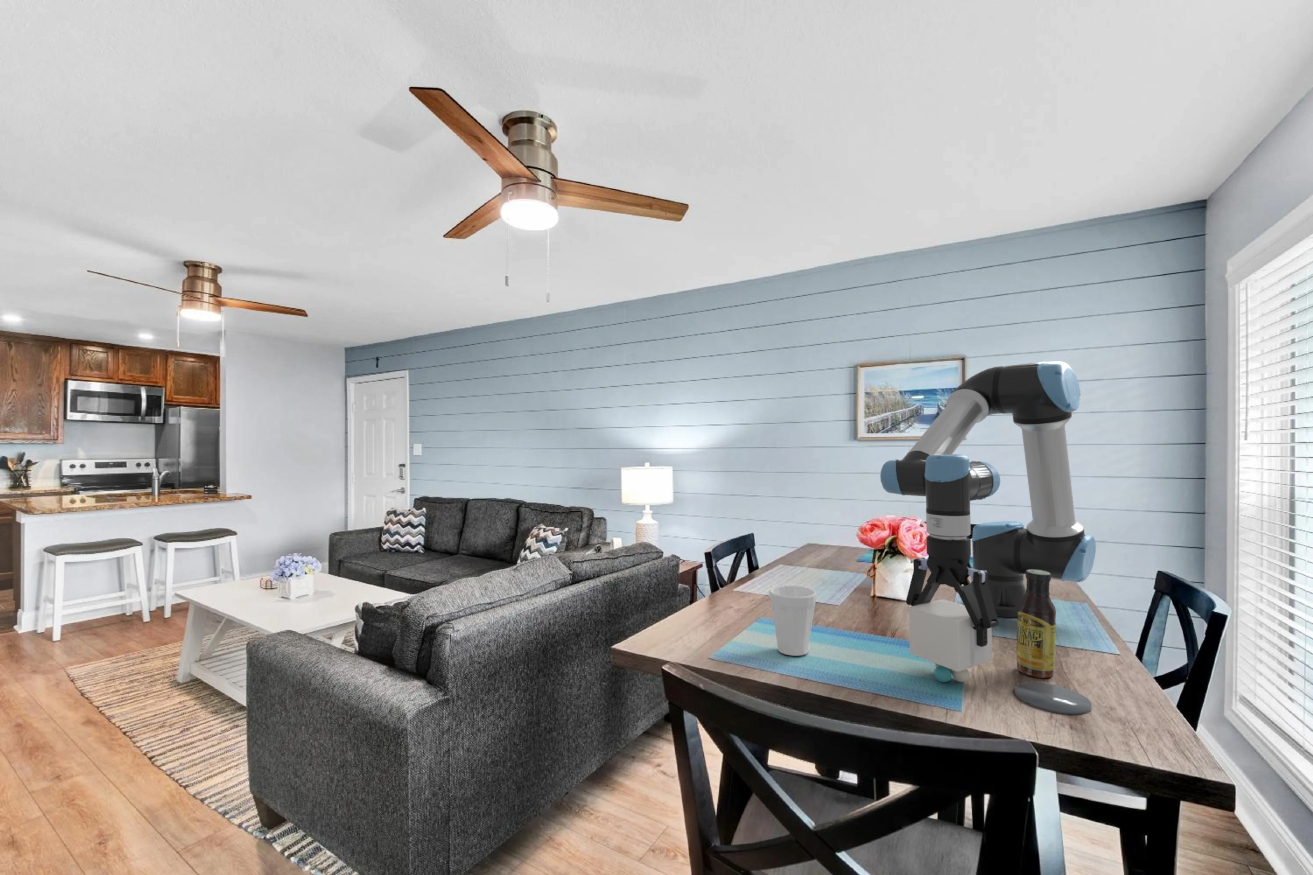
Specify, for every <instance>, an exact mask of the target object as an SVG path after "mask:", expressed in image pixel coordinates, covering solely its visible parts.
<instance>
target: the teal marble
mask: <svg viewBox="0 0 1313 875" xmlns="http://www.w3.org/2000/svg"><path fill="white" fill-rule="evenodd" d="M933 675H934V677H935V679H936V680H937V681H939V682H941V683H947V682H950V680H951V679H952V677H953V676H952V674H951V671H950V669H949V668H947V667H944V666H941V665H938V666H937V667H936V666H935V668H934V671H933Z"/></svg>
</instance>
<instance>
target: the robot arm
mask: <svg viewBox="0 0 1313 875" xmlns="http://www.w3.org/2000/svg"><path fill="white" fill-rule="evenodd" d="M1080 397H1081V389H1080V384H1079V380H1078V377H1077V375H1076V373H1075V371H1074V370H1073V368H1071V366H1070V365H1069V364H1068V363H1066V362H1064V361H1038V362H1030V363H1021V364H1014V365H1013V364H1012V365H1006V366H1005V365H1004V366H1003V365H1000V366H994V367H990V368H986V369H984V370H982V371H978V373H975V374H974V375H972V376H970V377H968V378H967V379H966V380H965V381H963V382H962V383H960V385H958V386H957V387H956V388H955V389H954V390H953V391H952V392H951V394H950V395H949V396H948V398H947V400H946V406H945V408H944V409H943V410H942V411H941V412H940V413H939V415H938V416H937V417H936V418H935V420H934V421H933V422H932V423H931V425H929V427H928V428H927V429H926V431H925V432H924V433H923V434H922V435H921V436H920V437H919V439H918V440H917V441H916V443H914V445H913V446H912V447H911V449H910V450H909V451H908V452H907V454H906V455H905V456H904V457H903V458H902V459H894V460H890V459H889V460H888V461H886V462H885V463H884V464H883V465H882V467H881V469H880V477H879V478H880V479H879V480H880V482H881V486H882V488H883V490H884V491H886V492H887V493H889V494H896V495H901V496H914V497H925V504H926V506H925V517H926V519H925V523H926V524H925V528H926V530H925V531H926V533H927V534H928V535H927V536H926V540H925V541H926V544H925V545H926V554H927V556H928V558H925V557H923V556H922V557H918V558H914V559H913V560H912V563H913V570H912V571H913V572H912V576H911V579H910V583H909V588H908V592H907V595H906V599H905V603H906V605H908V606H910V607H912V606H916V605H920V604H924V603H928V602H932V600H933V598H934V596H935V594H936V593H937V591H938V589H939V588H940V586H941V585H946V586H948V587H949V588H950V587H951V588H953V589H954V591H955V592H956V593H957V594H958V596H959V598H960V600H961V602H962V604H963V605H964V606H965V608H966V610H967V612H968V614H969V616H970V618H971V620H972V622H973V624H974V627H970V646H971V664H974V665H975V664H978V663H981V662H984V646H986V645H987V643H988V638H987V629H988V628H991V629H992V628H995V627H997V626H998V627H999V625H1000V624H999V619H998V617H1003V618H1018V611H1019V609H1020V606H1021V604H1022V601H1023V598H1024V596H1025V593H1026V586H1025V582H1024V575H1026V570H1031V569H1032V570H1042V571H1046V572H1049V573H1050V574H1051V580H1057V581H1061V582H1070V583H1071V582H1073V583H1082V582H1084V581H1086V580H1087V579H1088V578H1089V576H1090V574H1091V572H1092V569H1093V566H1094V563H1095V559H1096V550H1097V544H1096V540H1095V537H1094V536H1093V535H1090V534H1086V533H1085V527H1084V525H1083V524H1082V523H1081V522H1080V521H1078V520H1077V519H1076V516H1075V515H1076V514H1075V508H1074V507H1075V506H1074V497H1073V490H1072V480H1071V479H1072V478H1071V471H1070V462H1069V461H1070V460H1069V452H1068V443H1067V442H1068V440H1067V433H1066V432H1067V431H1066V424H1067V423H1068V422H1069V421H1070V420H1071V419H1072V417H1073V414H1072V413H1073V412H1075V411H1077V410H1078V408H1079V407H1080V404H1081V398H1080ZM999 414H1003V415H1004V414H1007V415H1009V414H1012V422H1013V423H1014V424H1015V425H1016V426H1018V427H1019V428H1020V429H1021V434H1022V444H1023V449H1024V450H1023V451H1024V460H1025V467H1026V478H1027V484H1028V493H1029V499H1030V501H1029V502H1030V508H1031V517H1032V519H1031V521H1030V522H1029V523H1027V525H1026V527H1025V525H1024V523H1023V522H1022V521H1016V520H1014V521H1012V520H1011V521H1010V520H1009V521H1008V520H1006V521H1005V520H1004V521H989V522H987V521H986V522H981V523H977V524H976V525H974V527H973V528H972V527H971V525H972V524H971V502H972V501H979V500H980V501H982V500H984V499H985V500H986V498H989V497H992V496H993V495H994V494H995V493H996V492H997V491H998V490H999V487H1000V486H1001V485H1000V484H1001V477H1000V476H1001V475H1000V473H999V472H998V470H997V469H996V467H994V466H993V465H992V464H990V463H988V462H985V461H975V460H974V461H973V460H971V461H970V458H969V457H968V456H967V455H965V454H957V453H956V454H955V453H954V452H956V450H957V448H958V447H959V446H960V445H961V443H962V442H963V440H964V439H965V438H966V437H967V435H968V434H969V432H971V430H972V429H973V428H974V426H975V424H978V423H980V422H982V421H984V420H985V419H986V418H987V417H988V416H991V415H999ZM1024 527H1025V528H1024ZM971 529H972V530H971ZM971 533H972V539H970V538H969V536H970V535H971ZM971 542H972V543H971ZM971 549H972V550H971ZM971 556H972V557H971ZM971 558H972V566H971V563H970V561H971V560H970V559H971ZM928 570H929V572H930V574H929V576H928V578H927V579H926V575H927V571H928ZM969 577H970V580H969ZM925 580H926V584H925ZM970 581H971V582H970ZM924 585H925V586H924ZM962 585H963V586H962ZM923 587H924V588H923Z"/></svg>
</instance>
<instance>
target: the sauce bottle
mask: <svg viewBox="0 0 1313 875" xmlns="http://www.w3.org/2000/svg"><path fill="white" fill-rule="evenodd" d="M1025 578H1026V586H1025V588H1026V593H1025V596H1024V598H1023V601H1022V604H1021V606H1020V609H1019V611H1018V617H1017V624H1016V625H1017V626H1016V627H1017V628H1016V629H1017V630H1016V657H1015V658H1016V659H1015V660H1016V664H1017V665H1016V668H1017V670H1018V671H1019V672H1020V673H1022V674H1024V675H1026V676H1031V677H1033V678H1038V679H1046V678H1052V677H1053V675H1054V672H1055V671H1054V670H1055V667H1056V639H1057V638H1056V634H1057V623H1056V622H1057V621H1056V615H1057V610H1056V606H1055V605H1054V603H1053V601H1052V600H1051V598H1050V594H1051V592H1050V582H1051V580H1052V579H1051V574H1050V573H1049V572H1046V571H1042V570H1032V569H1031V570H1026V574H1025Z"/></svg>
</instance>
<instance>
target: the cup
mask: <svg viewBox="0 0 1313 875" xmlns="http://www.w3.org/2000/svg"><path fill="white" fill-rule="evenodd" d="M768 593H769V600H770V603H771V604H770V605H771V611H772V617H773V624H774V632H775V637H776V644H777V651H778V652H780V653H781V654H784V655H787V656H793V657H794V656H804V655H806V654H808V652H809V648H810V640H811V632H812V626H813V619H814V613H815V606H816V602H817V592H816V591H815V590H814V589H813V588H810V587H805V586H801V585H800V586H799V585H788V584H787V585H777V586H774V587H771V588H770V589H769V590H768Z"/></svg>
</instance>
